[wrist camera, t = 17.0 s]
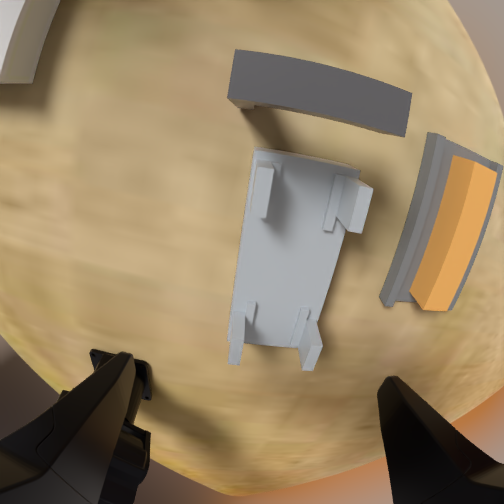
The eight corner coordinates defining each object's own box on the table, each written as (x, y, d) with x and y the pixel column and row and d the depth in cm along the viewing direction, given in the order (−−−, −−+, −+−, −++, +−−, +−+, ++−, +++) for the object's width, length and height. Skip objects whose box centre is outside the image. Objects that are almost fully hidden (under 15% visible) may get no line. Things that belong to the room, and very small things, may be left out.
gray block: (347, 128, 17) (404, 137, 10) (237, 107, 17) (227, 98, 10) (352, 100, 17) (412, 93, 9) (242, 78, 16) (235, 49, 9)
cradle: (303, 328, 25) (313, 375, 20) (229, 320, 24) (224, 368, 19) (348, 164, 19) (379, 180, 14) (254, 146, 18) (254, 155, 13)
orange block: (432, 293, 23) (446, 311, 20) (409, 291, 23) (423, 310, 20) (475, 165, 18) (497, 173, 15) (453, 154, 17) (475, 161, 15)
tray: (445, 302, 24) (451, 310, 22) (379, 296, 23) (384, 306, 22) (493, 162, 18) (503, 166, 16) (427, 132, 17) (437, 133, 16)
